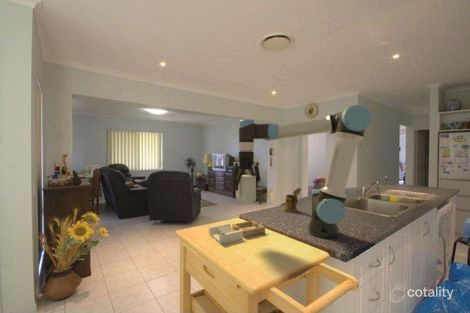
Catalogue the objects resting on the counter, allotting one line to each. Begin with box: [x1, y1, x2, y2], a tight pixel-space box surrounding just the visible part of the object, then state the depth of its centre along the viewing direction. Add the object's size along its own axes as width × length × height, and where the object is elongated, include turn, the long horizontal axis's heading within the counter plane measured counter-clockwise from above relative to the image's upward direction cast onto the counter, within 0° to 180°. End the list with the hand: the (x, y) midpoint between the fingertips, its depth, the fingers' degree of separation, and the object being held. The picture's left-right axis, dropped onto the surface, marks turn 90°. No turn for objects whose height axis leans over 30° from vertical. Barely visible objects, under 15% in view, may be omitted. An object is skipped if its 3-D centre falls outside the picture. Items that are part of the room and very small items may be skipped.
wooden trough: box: [231, 220, 266, 239], centre depth 122 cm, size 13×13×3 cm
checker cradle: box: [208, 222, 243, 245], centre depth 115 cm, size 14×12×5 cm
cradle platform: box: [216, 225, 235, 233], centre depth 115 cm, size 9×6×1 cm, turn 29°
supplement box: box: [235, 174, 257, 204], centre depth 113 cm, size 7×7×13 cm
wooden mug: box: [283, 187, 302, 213], centre depth 160 cm, size 9×14×18 cm, turn 29°
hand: (245, 196), depth 113 cm, fingers closed on supplement box, 9 cm apart
